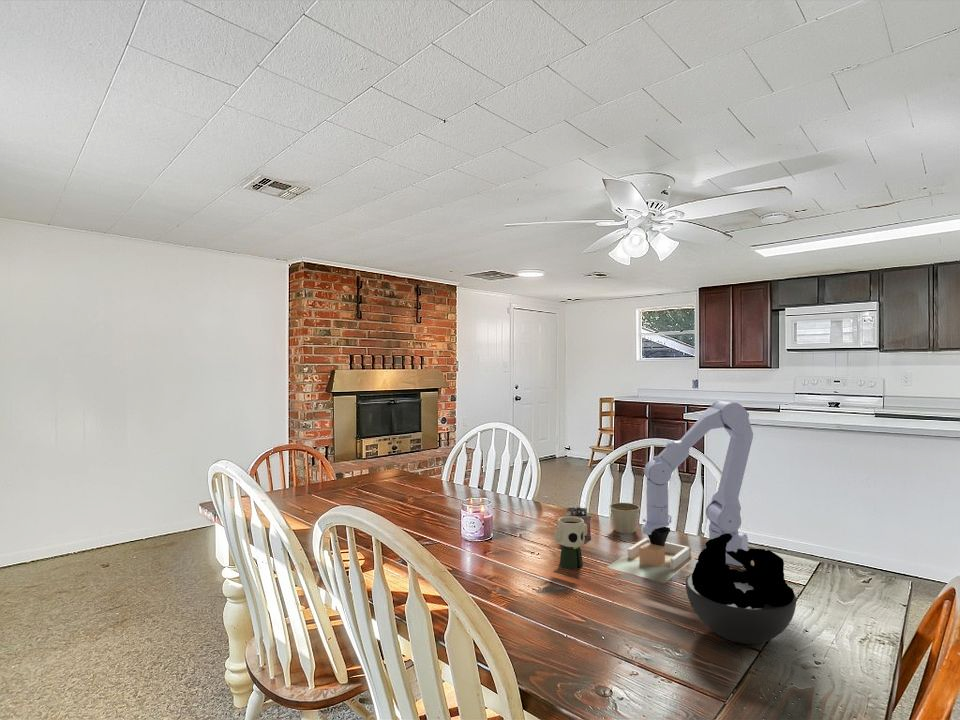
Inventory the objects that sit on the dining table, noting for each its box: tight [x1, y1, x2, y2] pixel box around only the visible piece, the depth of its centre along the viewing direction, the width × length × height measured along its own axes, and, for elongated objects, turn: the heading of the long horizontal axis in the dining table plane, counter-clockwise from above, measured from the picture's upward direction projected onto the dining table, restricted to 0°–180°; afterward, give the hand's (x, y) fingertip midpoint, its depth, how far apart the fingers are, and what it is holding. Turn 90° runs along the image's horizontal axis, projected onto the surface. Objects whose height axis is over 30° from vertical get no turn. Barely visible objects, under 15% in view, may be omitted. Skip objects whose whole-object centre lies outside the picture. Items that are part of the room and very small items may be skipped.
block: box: [639, 543, 665, 567], centre depth 147 cm, size 5×5×4 cm
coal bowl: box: [684, 533, 797, 645], centre depth 108 cm, size 20×20×19 cm
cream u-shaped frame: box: [627, 537, 692, 569], centre depth 150 cm, size 13×12×2 cm
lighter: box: [564, 505, 592, 541], centre depth 169 cm, size 8×3×10 cm, turn 84°
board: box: [605, 552, 697, 584], centre depth 146 cm, size 16×22×1 cm
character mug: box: [553, 516, 587, 570], centre depth 146 cm, size 11×7×13 cm, turn 120°
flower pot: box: [609, 502, 641, 534], centre depth 174 cm, size 9×9×9 cm
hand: (657, 554), depth 150 cm, fingers closed
